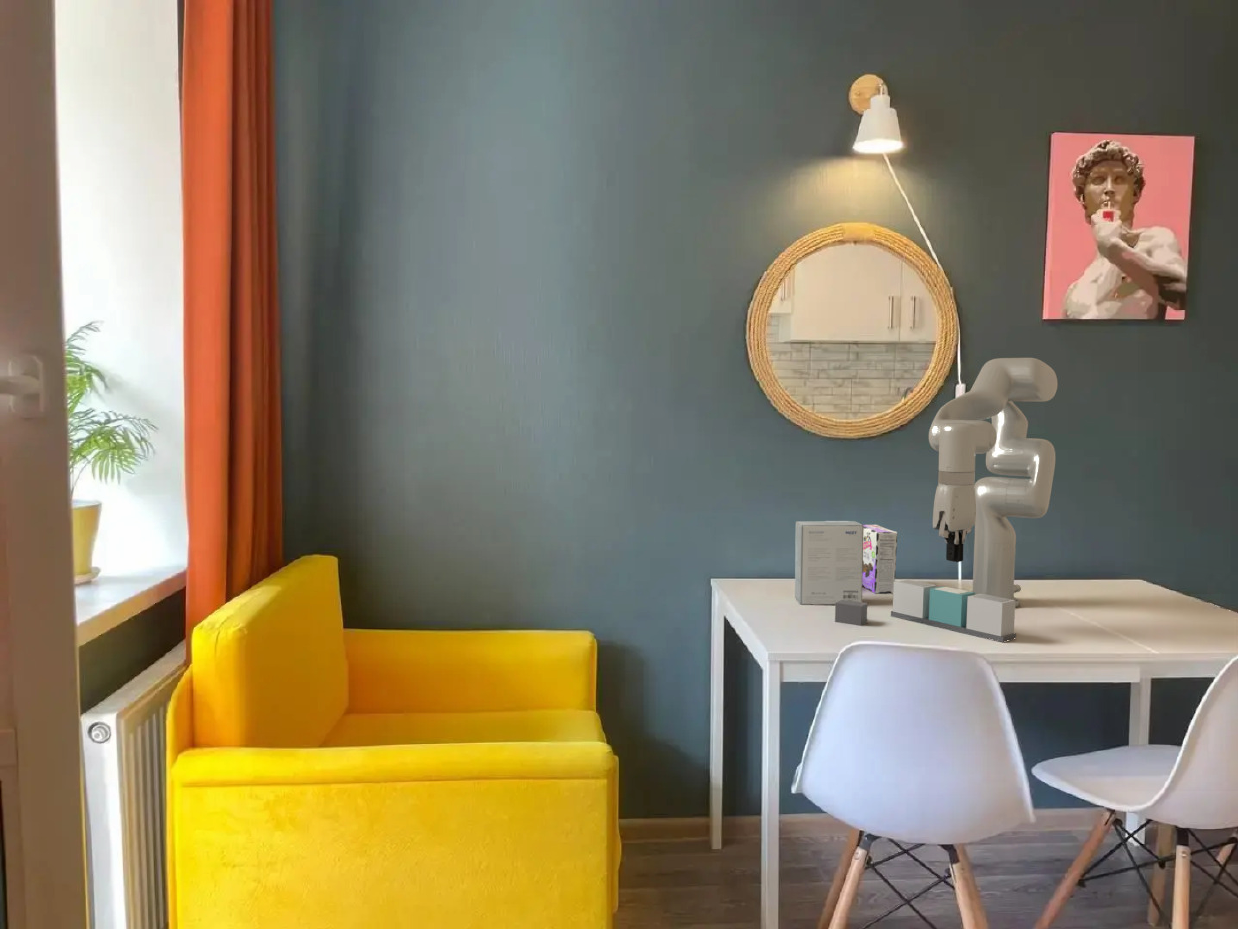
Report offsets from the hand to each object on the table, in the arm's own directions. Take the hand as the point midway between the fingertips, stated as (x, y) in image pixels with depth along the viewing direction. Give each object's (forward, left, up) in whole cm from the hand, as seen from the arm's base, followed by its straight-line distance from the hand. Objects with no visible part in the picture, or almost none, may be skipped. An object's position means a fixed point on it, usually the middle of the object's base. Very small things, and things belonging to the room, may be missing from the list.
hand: (954, 560), depth 203 cm
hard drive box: (+4, -32, -15) cm, 36 cm away
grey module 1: (+1, -9, -14) cm, 16 cm away
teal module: (+1, 0, -14) cm, 14 cm away
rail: (+1, 0, -15) cm, 15 cm away
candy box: (-20, -36, -15) cm, 44 cm away
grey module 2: (+1, +10, -14) cm, 17 cm away
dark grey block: (+16, -15, -15) cm, 27 cm away
